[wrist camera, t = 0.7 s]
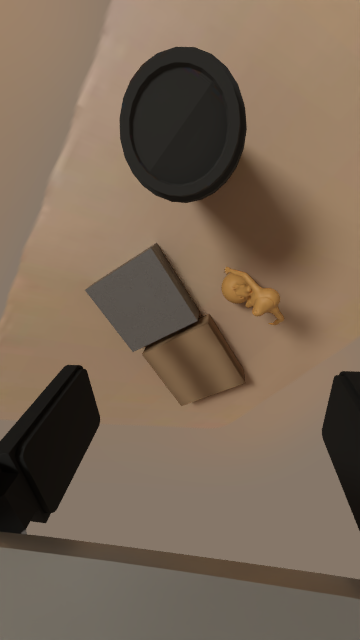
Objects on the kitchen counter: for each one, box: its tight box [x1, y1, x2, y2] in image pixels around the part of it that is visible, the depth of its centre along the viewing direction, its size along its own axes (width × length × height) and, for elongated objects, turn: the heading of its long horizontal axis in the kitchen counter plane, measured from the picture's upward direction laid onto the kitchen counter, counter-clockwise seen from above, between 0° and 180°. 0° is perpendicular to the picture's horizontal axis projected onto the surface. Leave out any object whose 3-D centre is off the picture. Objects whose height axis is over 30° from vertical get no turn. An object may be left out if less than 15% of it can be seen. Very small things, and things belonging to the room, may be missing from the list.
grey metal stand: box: [85, 243, 199, 352], centre depth 37 cm, size 11×11×3 cm
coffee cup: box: [120, 47, 247, 203], centre depth 23 cm, size 8×8×15 cm
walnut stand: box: [142, 314, 245, 406], centre depth 40 cm, size 11×11×3 cm
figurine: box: [222, 267, 284, 325], centre depth 29 cm, size 8×6×12 cm
